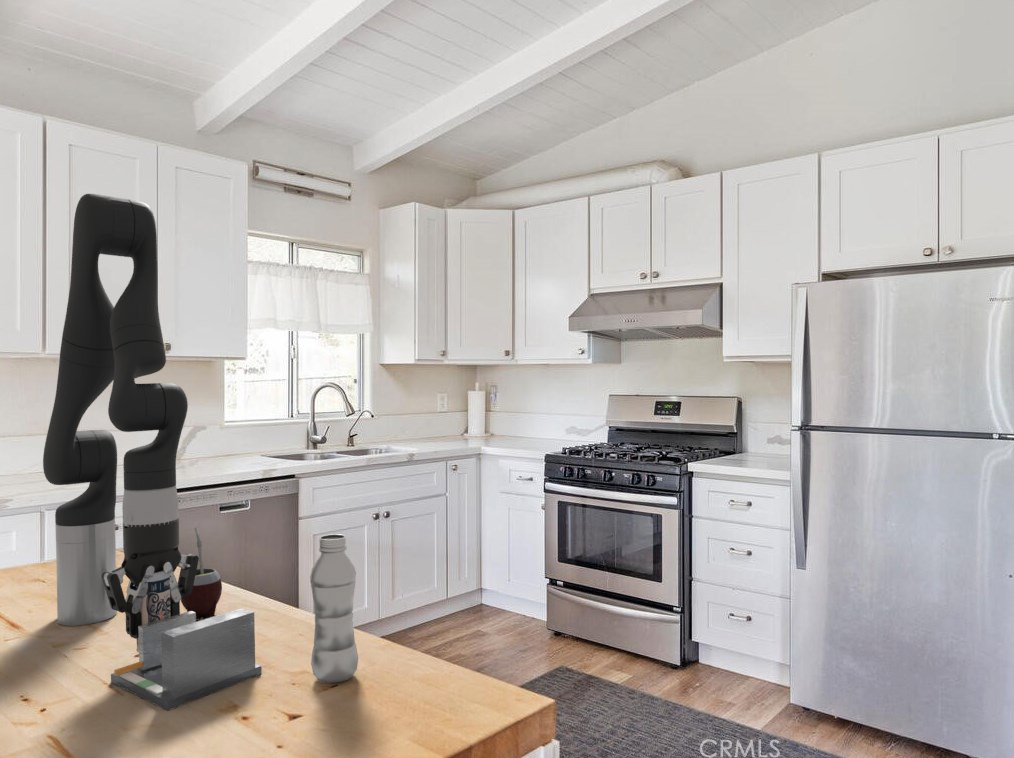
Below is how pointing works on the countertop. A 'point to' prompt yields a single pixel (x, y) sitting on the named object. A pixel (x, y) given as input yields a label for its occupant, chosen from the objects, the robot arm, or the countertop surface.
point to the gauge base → (197, 661)
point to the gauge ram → (155, 640)
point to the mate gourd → (203, 589)
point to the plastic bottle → (333, 612)
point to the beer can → (156, 600)
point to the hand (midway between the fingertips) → (153, 631)
